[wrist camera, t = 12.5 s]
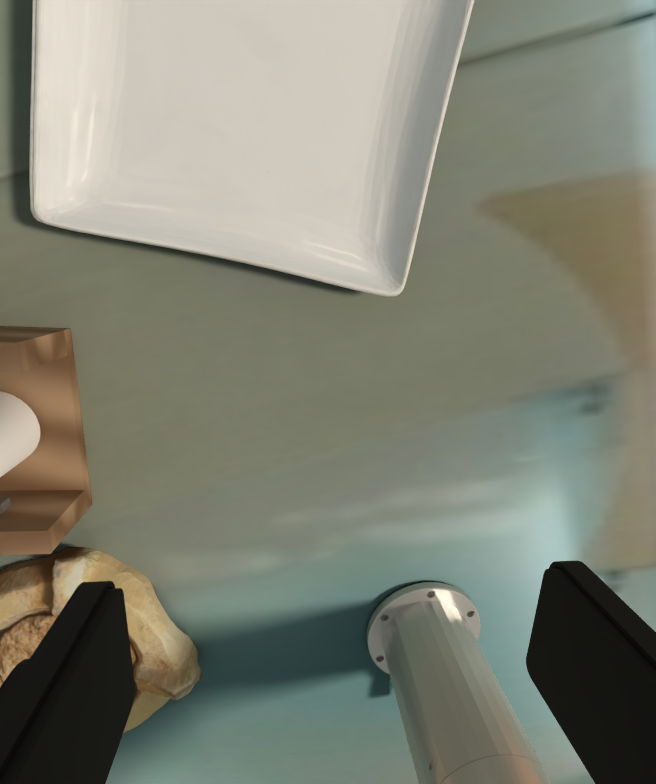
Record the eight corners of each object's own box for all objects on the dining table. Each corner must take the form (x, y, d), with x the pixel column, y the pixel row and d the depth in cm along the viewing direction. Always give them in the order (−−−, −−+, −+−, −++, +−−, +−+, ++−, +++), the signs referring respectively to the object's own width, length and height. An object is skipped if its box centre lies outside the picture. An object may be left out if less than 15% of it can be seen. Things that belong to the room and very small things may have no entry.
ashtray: (165, 519, 39) (148, 553, 34) (221, 699, 46) (214, 749, 41) (-94, 568, 38) (-148, 611, 33) (4, 747, 45) (-29, 803, 40)
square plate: (66, -250, 25) (27, -343, 21) (485, -91, 29) (514, -145, 25) (52, 226, 31) (21, 219, 28) (391, 298, 36) (404, 301, 32)
